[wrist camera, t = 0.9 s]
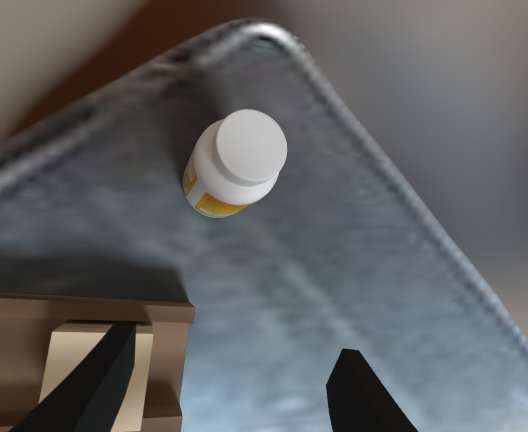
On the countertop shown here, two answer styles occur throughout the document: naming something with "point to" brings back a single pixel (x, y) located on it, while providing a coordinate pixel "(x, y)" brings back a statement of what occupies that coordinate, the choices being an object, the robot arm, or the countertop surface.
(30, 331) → the brown channel
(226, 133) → the supplement bottle
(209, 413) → the countertop surface
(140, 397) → the maple block
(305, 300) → the countertop surface
